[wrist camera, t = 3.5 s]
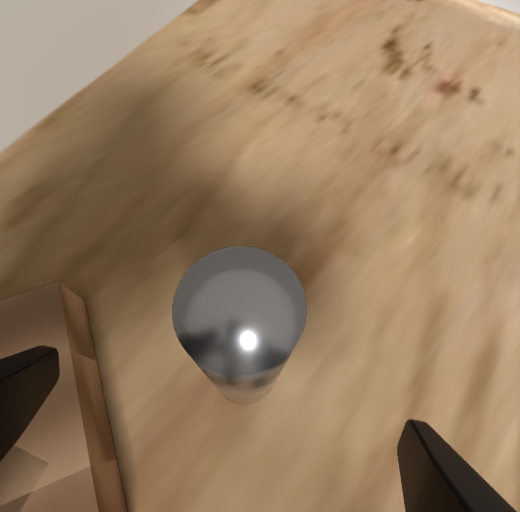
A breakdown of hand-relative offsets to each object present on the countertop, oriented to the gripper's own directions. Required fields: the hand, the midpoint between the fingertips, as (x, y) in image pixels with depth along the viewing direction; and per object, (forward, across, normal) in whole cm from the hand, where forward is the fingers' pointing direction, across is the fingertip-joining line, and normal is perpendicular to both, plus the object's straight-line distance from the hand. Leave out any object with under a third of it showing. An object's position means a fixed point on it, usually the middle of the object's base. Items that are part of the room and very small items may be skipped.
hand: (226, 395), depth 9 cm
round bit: (+8, 0, +5) cm, 10 cm away
